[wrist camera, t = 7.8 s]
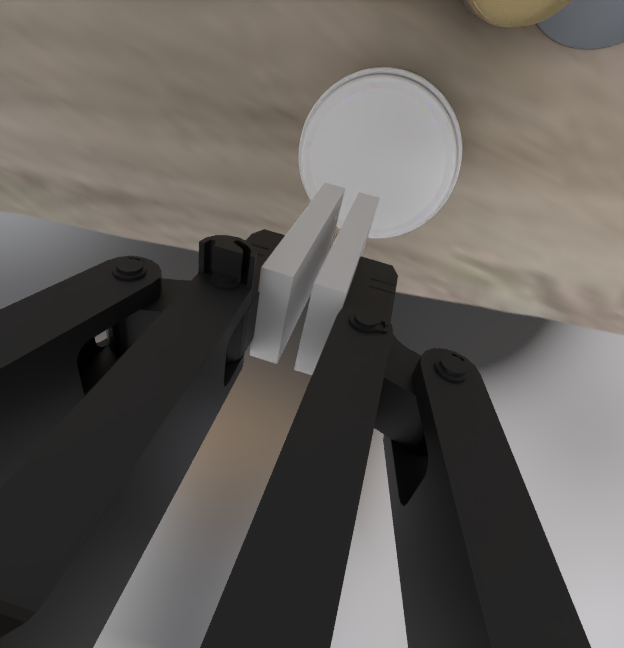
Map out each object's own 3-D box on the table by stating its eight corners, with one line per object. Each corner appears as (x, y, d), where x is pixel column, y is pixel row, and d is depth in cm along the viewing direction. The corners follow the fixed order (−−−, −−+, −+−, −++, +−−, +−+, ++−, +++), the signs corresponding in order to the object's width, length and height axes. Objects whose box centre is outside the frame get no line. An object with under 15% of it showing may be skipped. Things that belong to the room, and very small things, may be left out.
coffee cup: (475, 74, 29) (495, 96, 20) (427, 198, 35) (424, 261, 26) (350, 40, 30) (312, 47, 21) (323, 168, 36) (283, 219, 26)
